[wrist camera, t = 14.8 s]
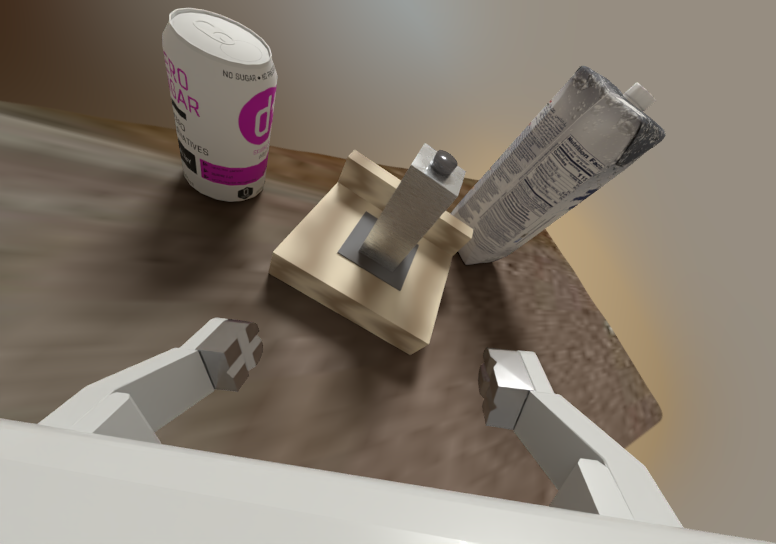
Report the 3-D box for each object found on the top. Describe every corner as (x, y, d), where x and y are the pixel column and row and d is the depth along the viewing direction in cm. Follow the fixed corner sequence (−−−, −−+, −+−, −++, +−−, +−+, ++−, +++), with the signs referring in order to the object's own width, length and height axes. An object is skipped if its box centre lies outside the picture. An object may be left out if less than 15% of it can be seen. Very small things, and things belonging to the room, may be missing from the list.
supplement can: (276, 181, 36) (296, 56, 25) (236, 217, 31) (239, 80, 20) (218, 146, 35) (212, -1, 24) (165, 177, 30) (126, 8, 19)
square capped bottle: (358, 250, 31) (417, 154, 21) (373, 227, 34) (431, 132, 24) (392, 271, 31) (465, 187, 22) (404, 247, 34) (472, 162, 25)
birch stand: (268, 273, 29) (278, 225, 23) (336, 196, 40) (354, 149, 34) (410, 355, 32) (452, 330, 26) (438, 262, 42) (473, 229, 36)
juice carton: (463, 272, 43) (666, 108, 23) (435, 219, 47) (588, 41, 27) (498, 267, 48) (692, 128, 28) (470, 220, 52) (622, 68, 32)
